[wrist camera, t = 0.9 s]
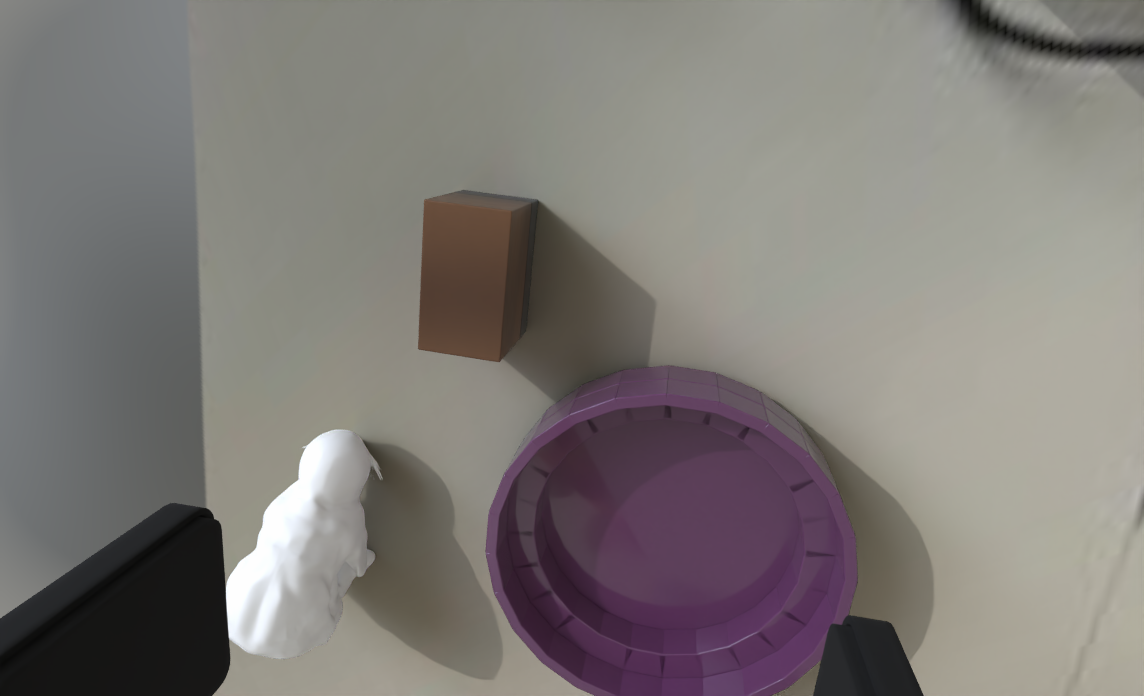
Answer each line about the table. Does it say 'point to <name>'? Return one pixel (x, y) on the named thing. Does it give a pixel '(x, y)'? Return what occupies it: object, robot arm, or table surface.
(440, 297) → the brown rectangular block
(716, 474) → the bowl
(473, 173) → the table surface
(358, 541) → the white lumpy piece
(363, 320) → the table surface
